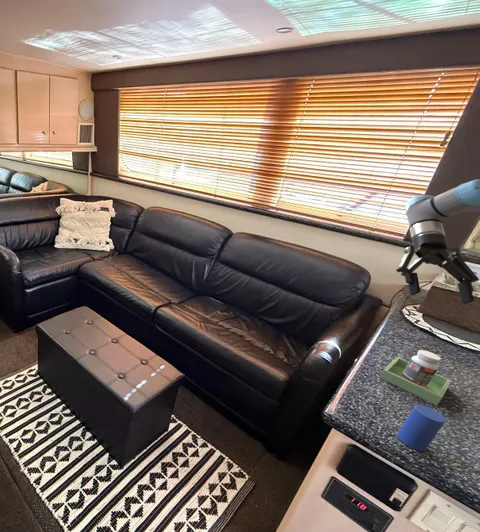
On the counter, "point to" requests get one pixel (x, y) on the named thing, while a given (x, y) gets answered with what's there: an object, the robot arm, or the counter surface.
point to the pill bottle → (421, 368)
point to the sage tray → (429, 393)
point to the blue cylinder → (420, 427)
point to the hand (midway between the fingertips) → (441, 297)
